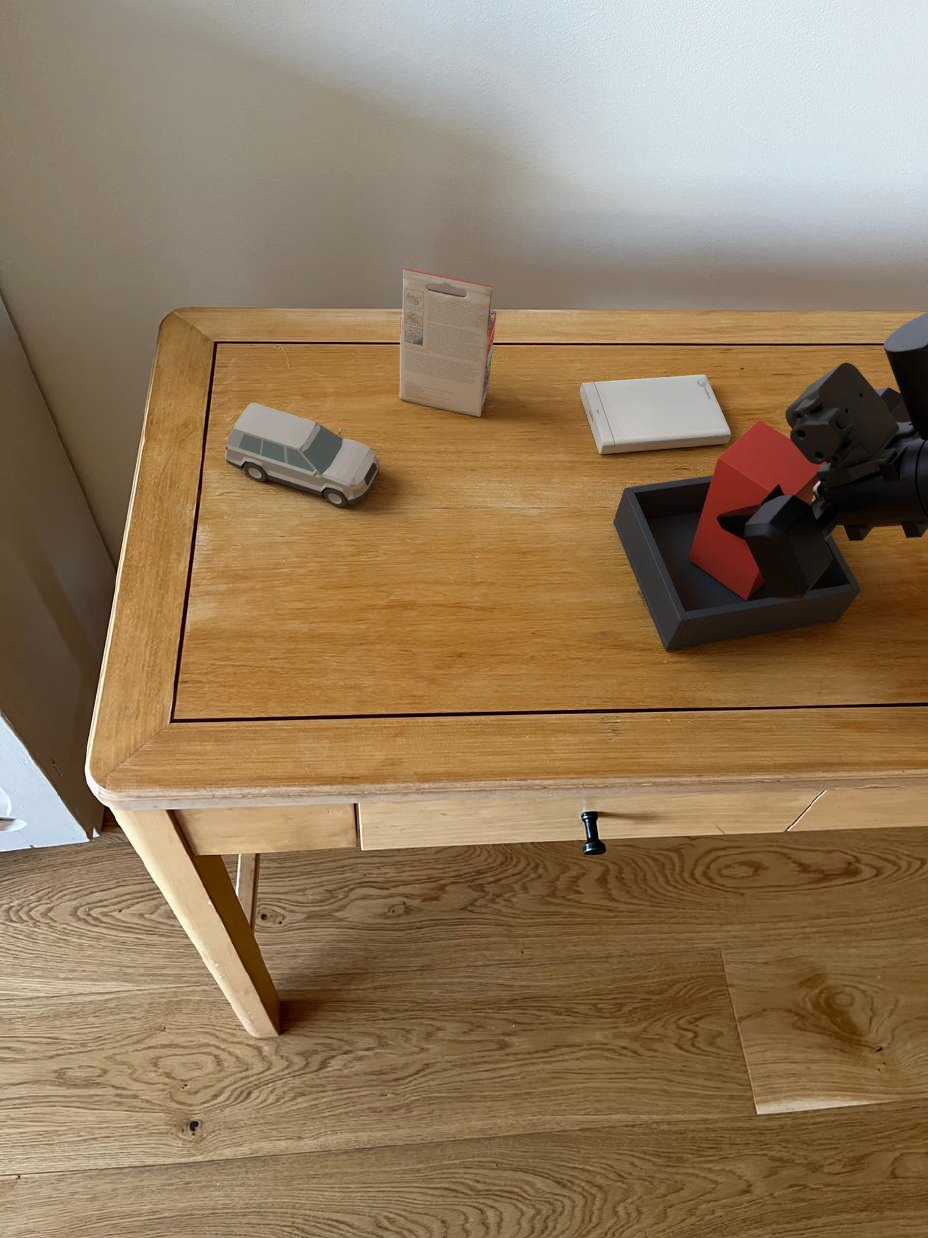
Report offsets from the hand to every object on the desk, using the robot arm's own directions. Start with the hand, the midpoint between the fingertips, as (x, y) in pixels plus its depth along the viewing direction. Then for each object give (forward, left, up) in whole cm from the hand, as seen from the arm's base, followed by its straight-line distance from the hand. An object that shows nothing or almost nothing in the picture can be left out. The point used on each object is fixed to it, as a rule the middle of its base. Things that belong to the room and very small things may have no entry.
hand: (739, 499), depth 72 cm
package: (-1, +1, -7) cm, 7 cm away
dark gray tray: (-1, +1, -8) cm, 8 cm away
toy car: (+32, -16, -8) cm, 37 cm away
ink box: (+18, -23, -8) cm, 30 cm away
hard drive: (-1, -17, -8) cm, 19 cm away
